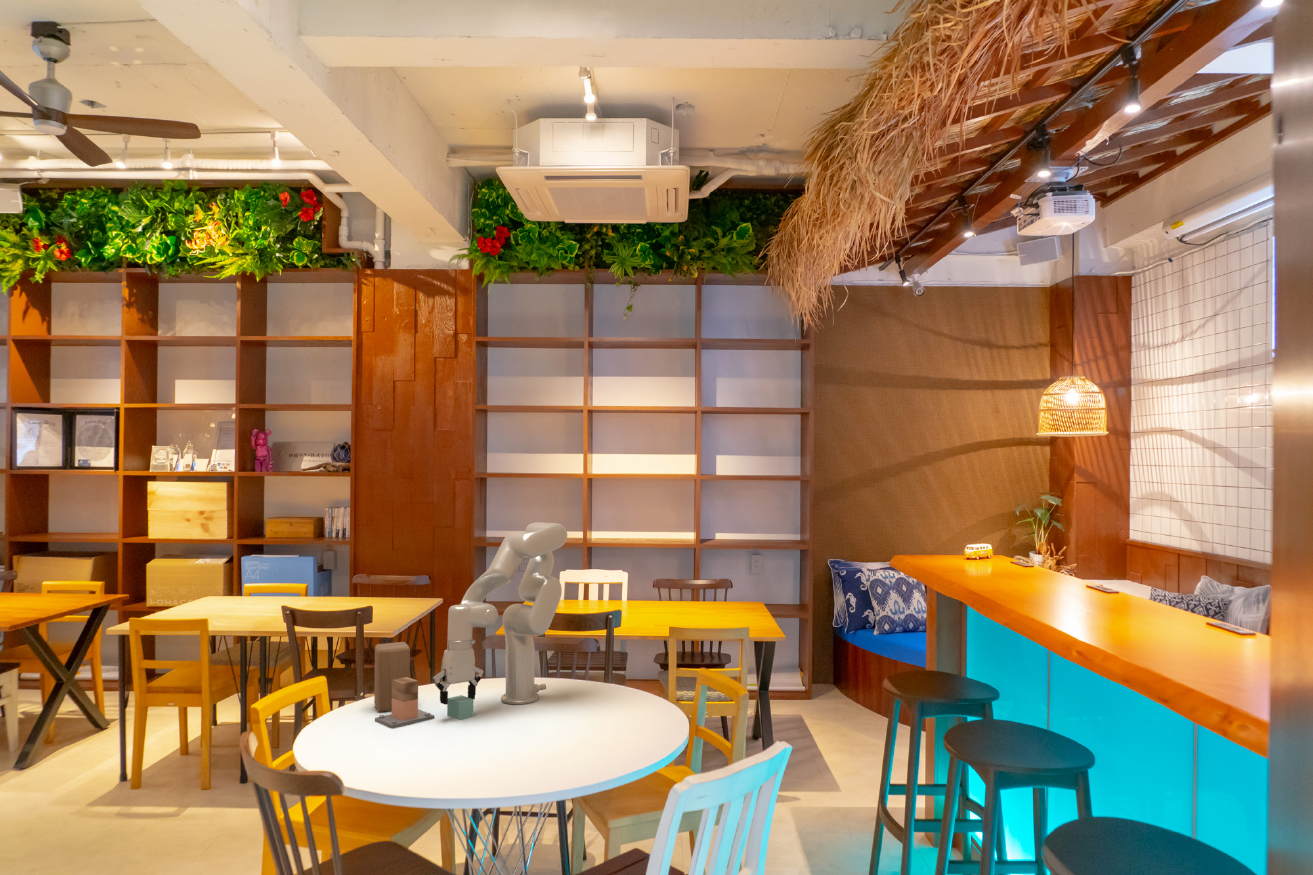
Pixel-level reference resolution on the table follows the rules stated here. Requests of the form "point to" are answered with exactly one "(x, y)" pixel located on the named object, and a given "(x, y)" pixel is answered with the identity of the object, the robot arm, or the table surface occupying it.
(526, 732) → the table surface
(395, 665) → the block
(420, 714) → the baseplate
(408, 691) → the walnut brick
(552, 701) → the table surface
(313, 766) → the table surface
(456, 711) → the teal brick
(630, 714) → the table surface
